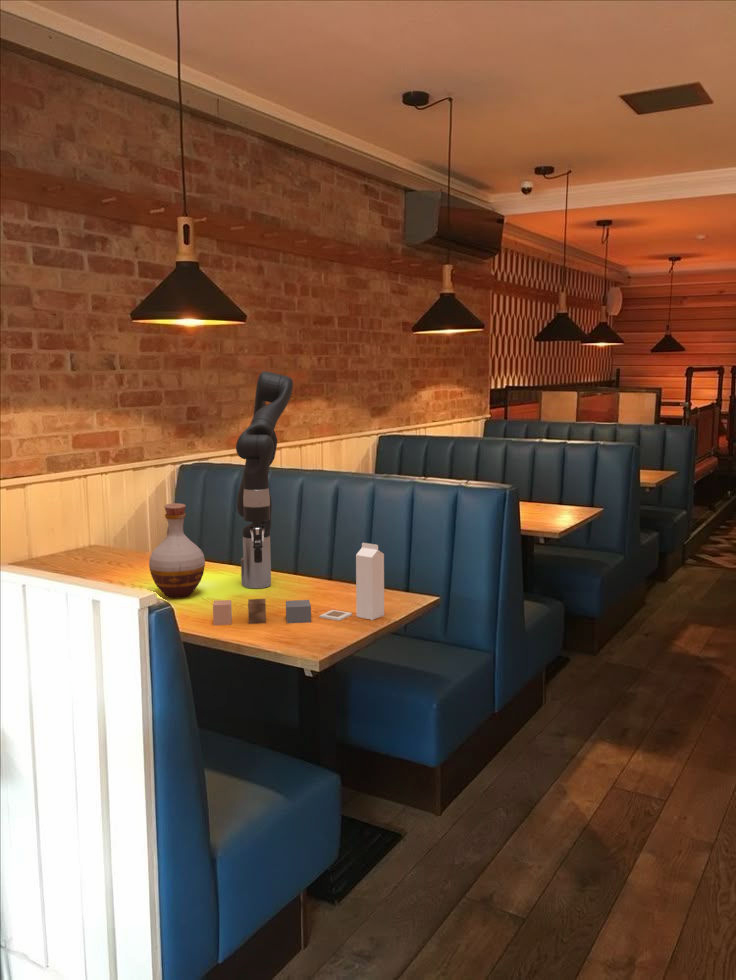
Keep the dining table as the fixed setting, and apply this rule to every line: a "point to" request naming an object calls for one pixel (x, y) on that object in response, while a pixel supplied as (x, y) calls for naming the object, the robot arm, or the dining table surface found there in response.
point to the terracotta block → (222, 612)
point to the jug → (176, 558)
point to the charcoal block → (298, 611)
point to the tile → (335, 615)
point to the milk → (369, 582)
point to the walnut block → (256, 611)
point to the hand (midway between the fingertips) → (258, 559)
